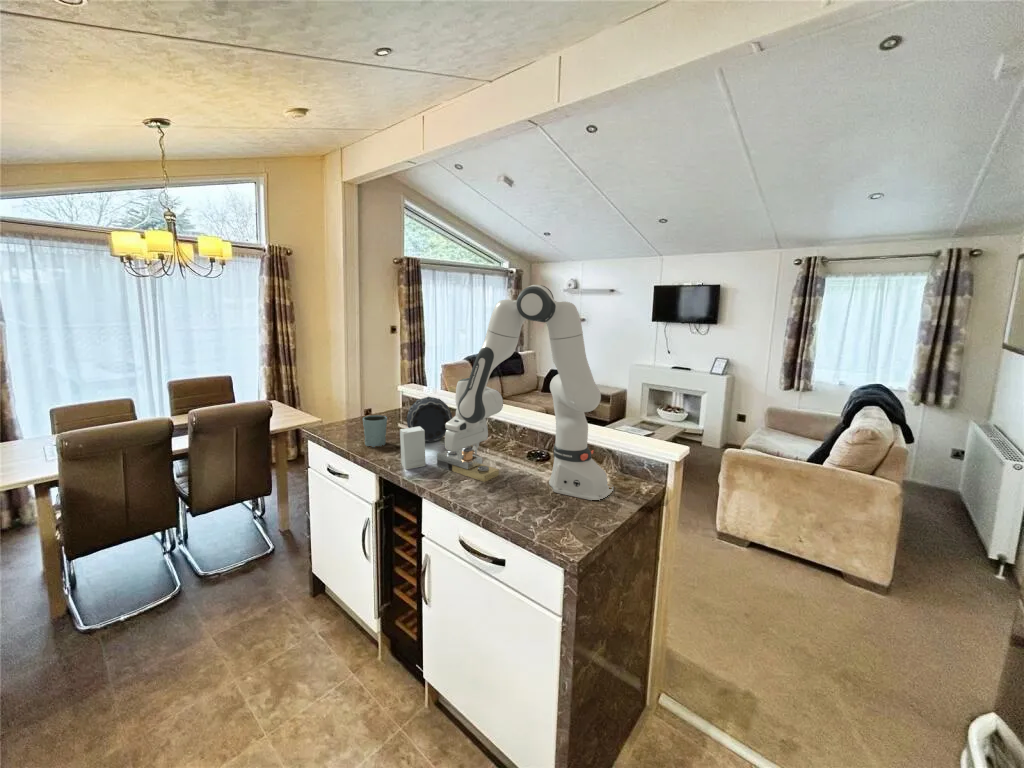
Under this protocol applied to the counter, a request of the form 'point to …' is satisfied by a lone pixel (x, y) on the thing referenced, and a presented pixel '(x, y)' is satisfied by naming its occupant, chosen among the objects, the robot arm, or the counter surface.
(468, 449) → the pin
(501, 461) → the counter surface
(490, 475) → the chain joint
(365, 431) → the teal plant pot
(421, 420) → the scalloped baking dish
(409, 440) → the skincare box
